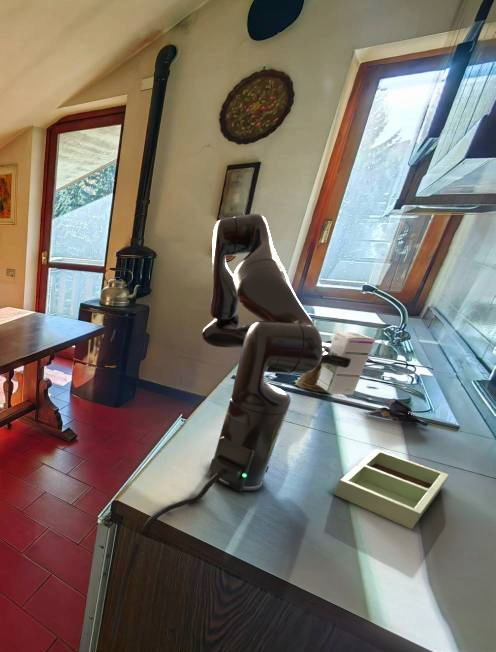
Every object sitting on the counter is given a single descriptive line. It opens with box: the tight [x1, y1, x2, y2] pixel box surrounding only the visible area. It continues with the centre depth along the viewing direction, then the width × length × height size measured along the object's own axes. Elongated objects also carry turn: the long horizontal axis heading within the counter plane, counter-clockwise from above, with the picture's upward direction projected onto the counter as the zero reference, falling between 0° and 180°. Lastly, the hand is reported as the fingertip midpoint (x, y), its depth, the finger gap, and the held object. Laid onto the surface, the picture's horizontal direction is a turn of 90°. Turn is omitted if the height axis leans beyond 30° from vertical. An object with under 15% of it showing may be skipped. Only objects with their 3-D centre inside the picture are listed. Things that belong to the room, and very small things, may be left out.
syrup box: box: [316, 331, 376, 396], centre depth 96 cm, size 6×6×14 cm
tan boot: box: [295, 340, 332, 394], centre depth 123 cm, size 9×14×18 cm, turn 140°
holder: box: [333, 449, 450, 530], centre depth 78 cm, size 21×11×4 cm, turn 123°
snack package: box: [364, 397, 429, 427], centre depth 107 cm, size 12×6×12 cm
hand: (355, 360), depth 94 cm, fingers closed on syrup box, 8 cm apart
